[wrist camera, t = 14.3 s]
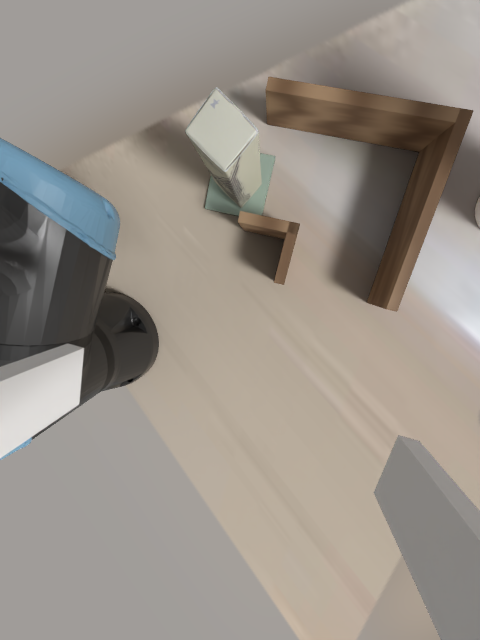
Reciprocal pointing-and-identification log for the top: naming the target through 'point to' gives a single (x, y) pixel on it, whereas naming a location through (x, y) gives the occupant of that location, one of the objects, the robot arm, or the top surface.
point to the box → (227, 146)
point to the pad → (254, 205)
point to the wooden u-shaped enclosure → (383, 129)
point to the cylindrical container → (477, 212)
